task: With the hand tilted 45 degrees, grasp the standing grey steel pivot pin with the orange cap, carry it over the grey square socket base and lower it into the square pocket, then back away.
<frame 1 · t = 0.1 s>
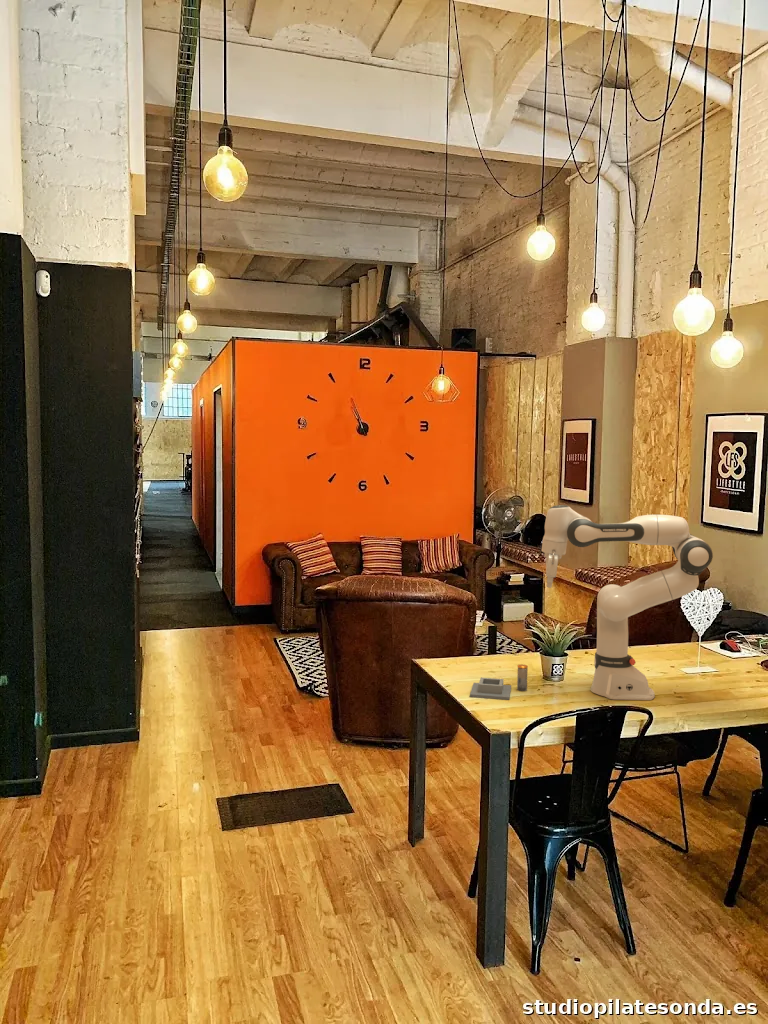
hand: (549, 584, 287), 39 cm above the table, tool pointing down, fingers open, 8 cm apart
pivot pin: (522, 689, 287), on the table
grey square socket base: (490, 692, 283), on the table
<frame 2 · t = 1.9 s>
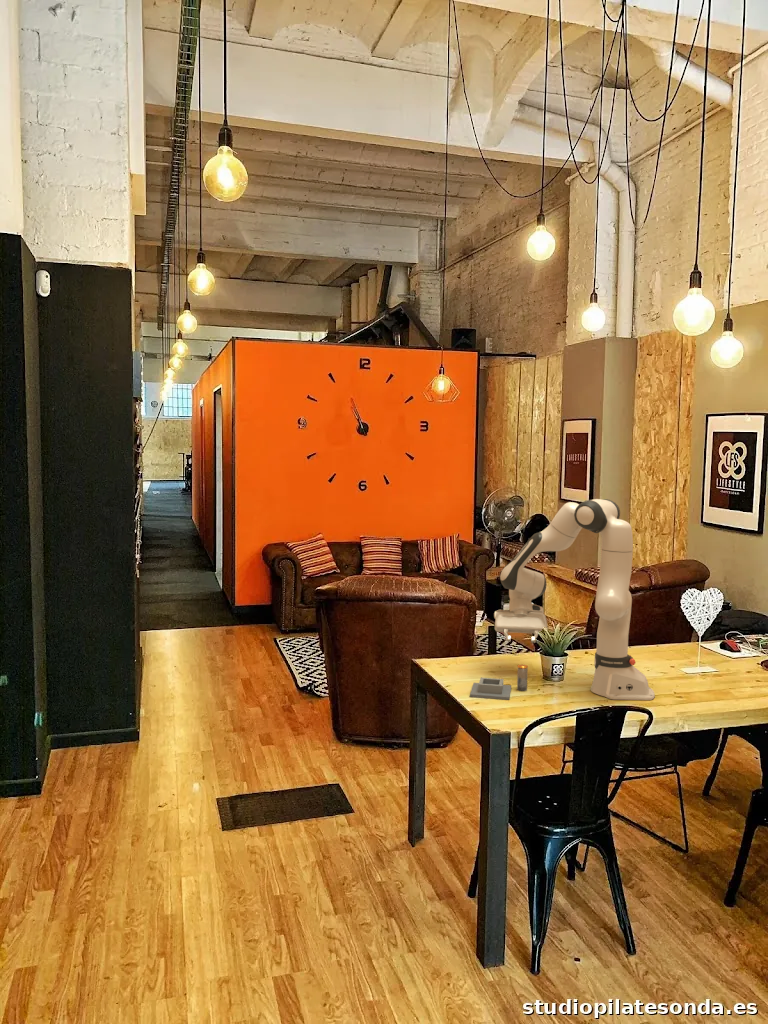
hand: (521, 641, 298), 15 cm above the table, tool tilted 45°, fingers open, 8 cm apart
nothing on the table moved.
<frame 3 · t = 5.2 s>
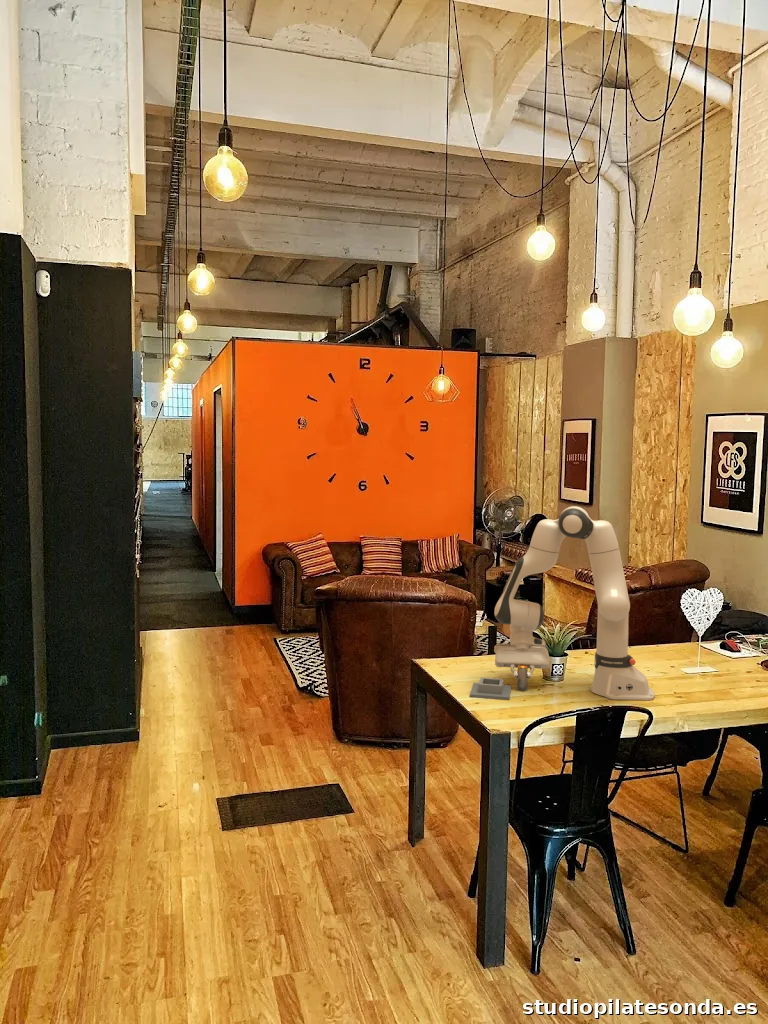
hand: (522, 677, 286), 5 cm above the table, tool tilted 45°, fingers closed on pivot pin, 4 cm apart
pivot pin: (522, 689, 287), on the table, touching gripper
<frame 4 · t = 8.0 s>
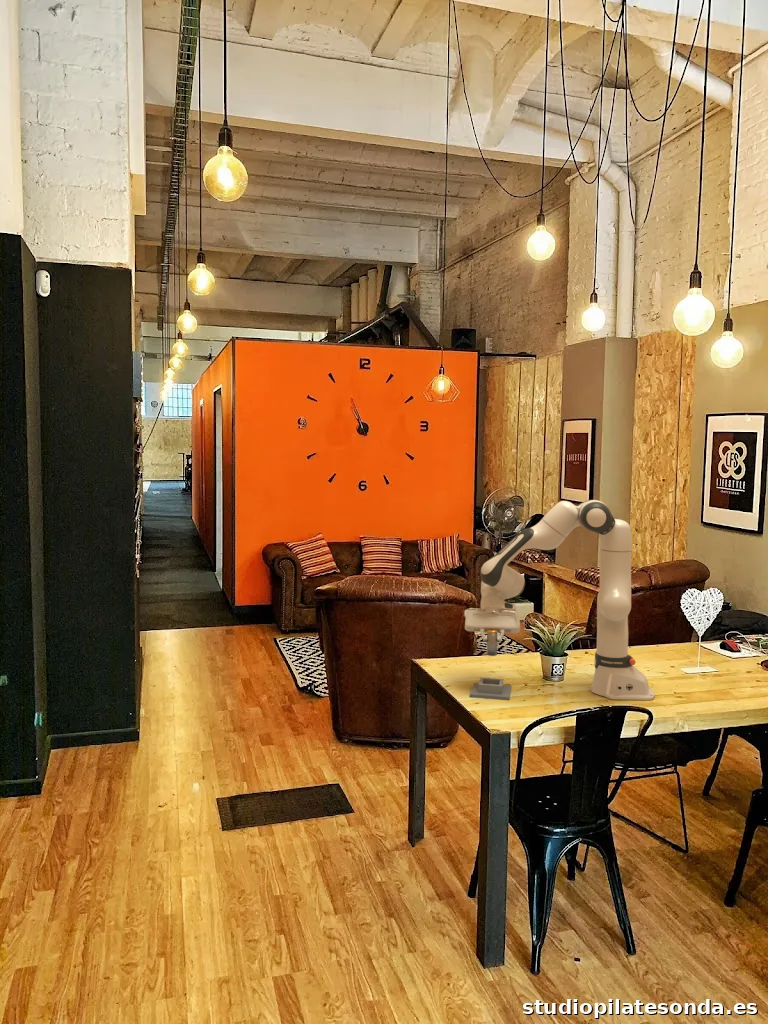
hand: (492, 641, 281), 19 cm above the table, tool tilted 45°, fingers closed on pivot pin, 4 cm apart
pivot pin: (491, 654, 282), point 14 cm above the table, touching gripper
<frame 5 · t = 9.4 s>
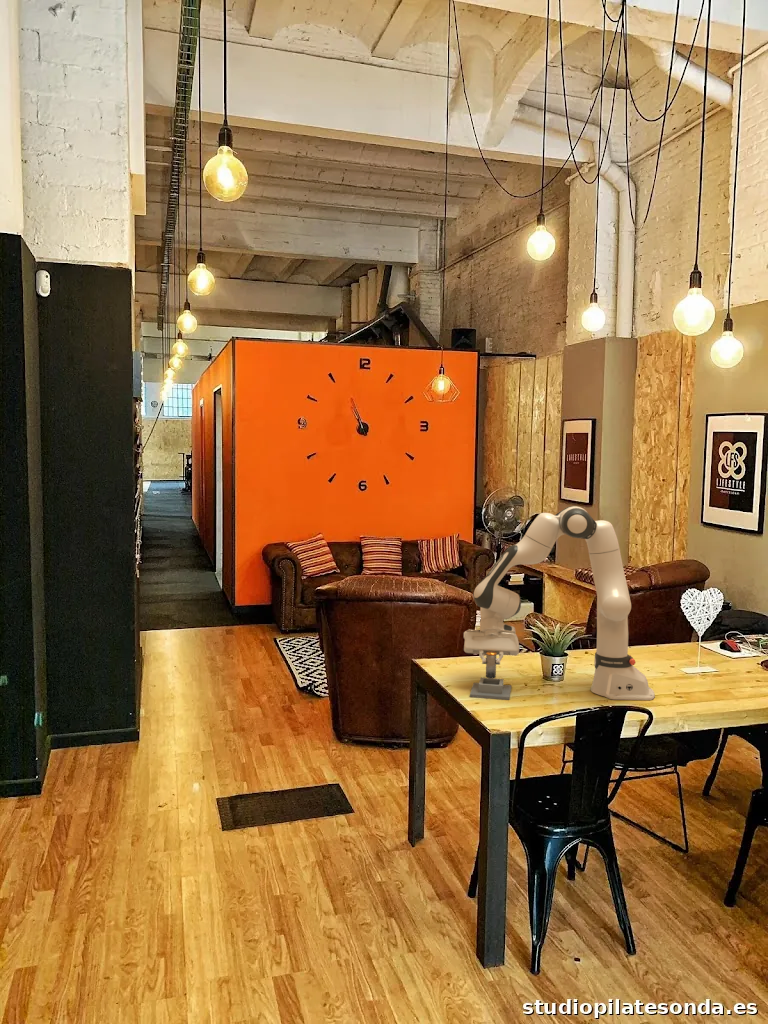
hand: (491, 663, 282), 11 cm above the table, tool tilted 45°, fingers closed on pivot pin, 4 cm apart
pivot pin: (490, 676, 283), point 6 cm above the table, touching gripper
when the fingers open (7 cm above the table, at t = 10.8 s): pivot pin drops 1 cm, resting on grey square socket base.
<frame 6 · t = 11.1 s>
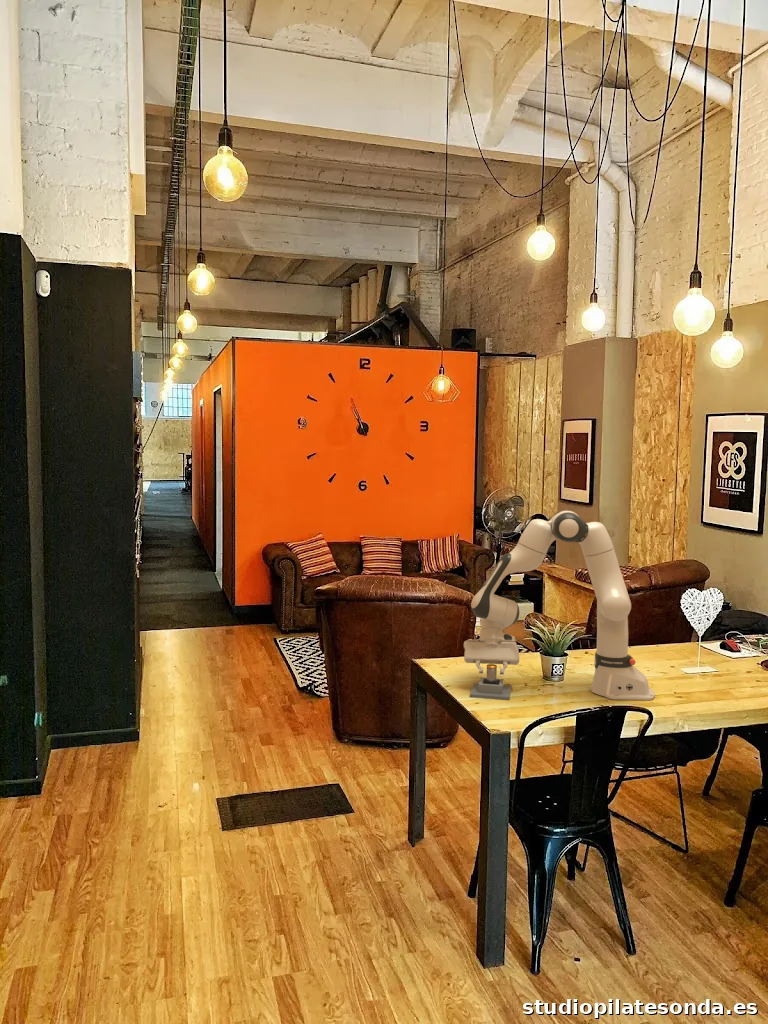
hand: (491, 673, 282), 7 cm above the table, tool tilted 45°, fingers open, 6 cm apart
pivot pin: (491, 689, 283), point 1 cm above the table, touching grey square socket base
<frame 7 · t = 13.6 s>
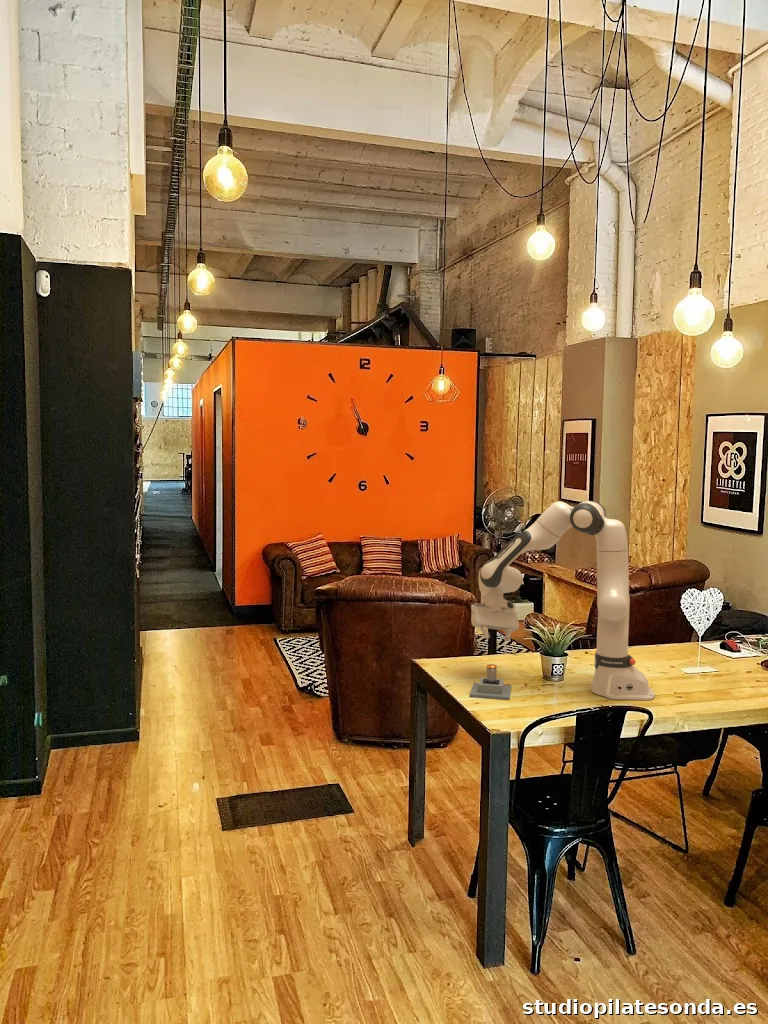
hand: (497, 639, 295), 16 cm above the table, tool tilted 35°, fingers open, 8 cm apart
nothing on the table moved.
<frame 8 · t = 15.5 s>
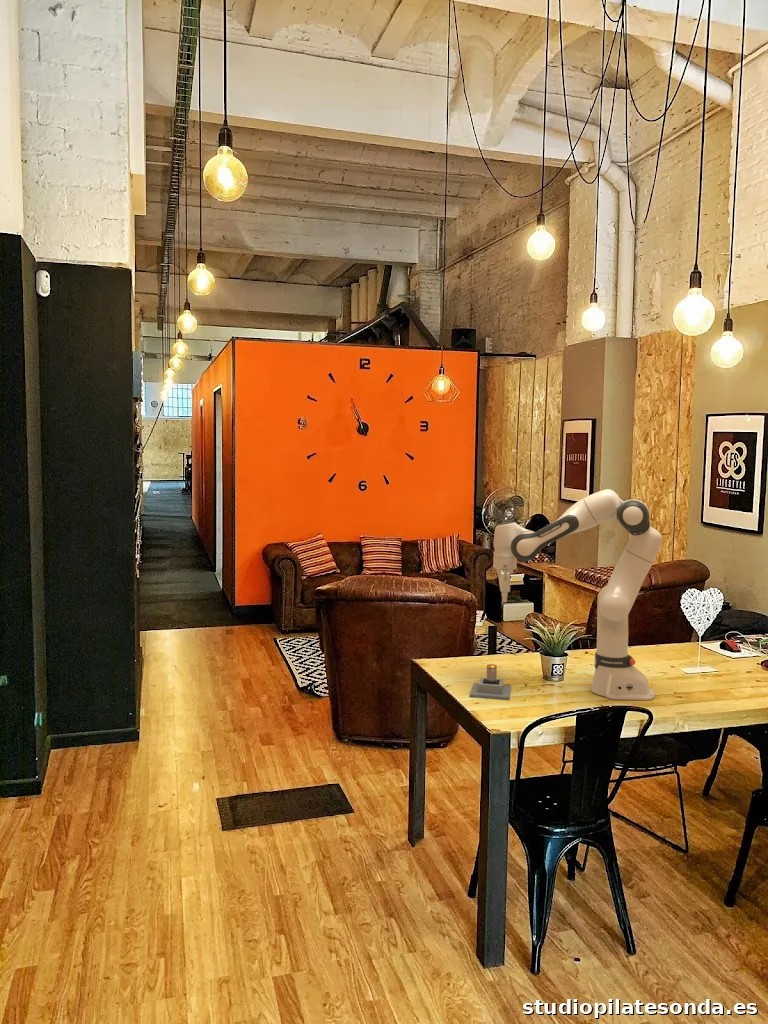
hand: (504, 599, 297), 31 cm above the table, tool pointing down, fingers open, 8 cm apart
nothing on the table moved.
at the end: pivot pin 0.1 cm off-centre on the grey square socket base, point 1.0 cm above the grey square socket base's base; pivot pin tilted 0°; the gripper is holding nothing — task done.
